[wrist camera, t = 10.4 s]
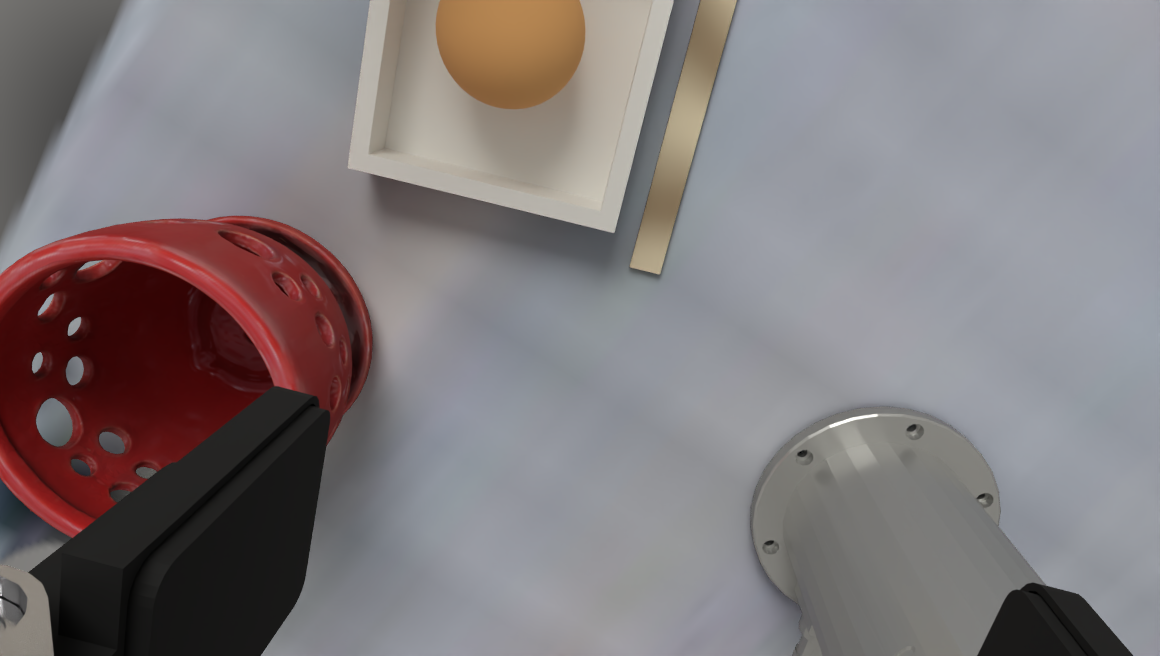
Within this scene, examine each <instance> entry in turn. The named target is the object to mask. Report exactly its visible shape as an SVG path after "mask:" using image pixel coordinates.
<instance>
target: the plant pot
mask: <svg viewBox="0 0 1160 656" xmlns="http://www.w3.org/2000/svg"><path fill="white" fill-rule="evenodd" d="M98 260H103V261H101V262H99V263H97V264H95V265H93V266H91V267H89V268H86V269H83V270H79V269H80V268H81V267H82V266H83V265H84V264H85V263H87V262H89V261H98ZM78 270H79V271H78ZM52 294H54V296H53V299H52V302H51V303H50V305H49V307H48V308H47V309H46V310H45V312H44V313H43V314H41V315H39V316H38V311H39V310H40V308H41V307H42V305H43V304H44V302H45V301H46V299H47V298H48V297H49V296H50V295H52ZM78 317H81V324H80V326H79V328H78V330H77V331H76V332H75V333H74V334H73V335H71V336H68V327H69V324H70V322H72V321H73V320H74V319H76V318H78ZM39 352H41V353H42V355H43V362H42V365H41V367H40V369H39V370H38V371H37V372H36V373H33V371H32V361H33V359H34V357H35V355H36V354H37V353H39ZM76 356H78V357H79V358H80V359H81V360H82V363H83V367H84V372H83V376H82V379H81V380H80V382H78V383H77V384H76V385H70V384H69V382H68V381H67V378H66V367H67V364H68V361H69V360H70V359H71V358H72V357H76ZM371 358H372V329H371V322H370V318H369V314H368V310H367V307H366V305H365V302H364V300H363V297H362V295H361V293H360V291H359V289H358V287H357V285H356V283H355V282H354V280H353V278H352V277H351V275H350V274H349V273H348V271H347V270H346V268H345V267H344V266H343V265H342V264H341V263H340V261H339V260H338V259H337V258H336V257H335V256H334V255H333V254H332V253H331V252H330V251H328V250H327V249H326V248H325V247H324V246H322V245H321V244H320V243H318V242H317V241H316V240H314V239H313V238H311V237H310V236H308V235H306V234H304V233H303V232H301V231H299V230H297V229H295V228H293V227H291V226H288V225H286V224H283V223H280V222H277V221H273V220H269V219H265V218H259V217H251V216H227V217H218V218H213V219H209V220H197V219H160V220H150V221H140V222H133V223H126V224H120V225H114V226H110V227H105V228H101V229H97V230H93V231H88V232H84V233H81V234H78V235H75V236H71V237H68V238H65V239H61V240H58V241H56V242H53V243H50V244H48V245H45V246H43V247H41V248H39V249H36V250H34V251H32V252H31V253H29V254H27V255H26V256H24V257H22V258H21V259H19V260H18V261H16V262H15V263H14V264H13V265H11V266H10V267H8V268H7V269H6V270H5V271H4V272H3V273H2V274H1V275H0V478H1V480H2V481H3V482H4V483H5V485H6V486H7V487H8V488H9V489H10V490H11V492H12V493H13V494H14V495H15V496H16V497H17V498H18V499H19V500H20V501H22V502H23V503H24V504H25V505H26V506H27V507H28V508H29V509H30V510H31V511H33V512H34V513H35V514H37V515H38V516H39V517H41V518H42V519H43V520H44V521H46V522H47V523H48V524H50V525H51V526H53V527H54V528H56V529H57V530H59V531H61V532H63V533H64V534H66V535H68V536H70V537H72V538H73V537H74V536H76V535H77V534H78V533H79V532H81V531H82V530H83V529H85V528H86V527H87V526H88V525H90V524H91V523H92V522H94V521H95V520H96V519H97V518H99V517H100V516H101V515H103V514H104V513H105V512H106V511H108V510H109V509H110V508H112V507H113V506H114V505H115V504H117V503H118V502H115V501H114V500H113V499H112V497H111V495H110V492H112V491H114V490H126V491H130V492H132V491H133V490H135V489H136V488H137V487H139V486H140V485H141V484H142V483H144V482H145V481H146V480H148V479H145V478H142V477H140V476H139V475H137V474H136V469H138V468H140V467H147V468H152V469H154V470H156V471H157V472H158V471H159V470H160V469H162V468H163V467H165V466H167V465H168V464H170V463H172V462H178V461H179V460H180V459H181V458H183V457H184V456H185V455H187V454H188V453H189V452H190V451H192V450H193V449H194V448H195V447H197V446H198V445H199V444H200V443H202V442H203V441H204V440H206V439H207V438H208V437H209V436H211V435H212V434H213V433H214V432H216V431H217V430H218V429H219V428H221V427H222V426H223V425H225V424H226V423H227V422H228V421H230V420H231V419H232V418H233V417H235V416H236V415H237V414H238V413H240V412H241V411H242V410H244V409H245V408H246V407H247V406H249V405H250V404H251V403H252V402H254V401H255V400H256V399H257V398H259V397H260V396H261V395H263V394H264V393H265V392H266V391H268V390H269V389H270V388H272V387H274V386H279V387H283V388H287V389H290V390H294V391H298V392H302V393H306V394H310V395H313V396H317V397H318V399H319V405H320V407H319V408H321V409H325V410H329V412H330V426H329V432H328V438H327V444H328V443H329V441H330V440H331V438H332V437H333V435H334V433H335V431H336V429H337V428H338V426H339V423H340V421H341V419H342V416H343V414H344V413H345V412H346V411H347V410H348V409H349V408H350V407H351V406H352V404H353V403H354V402H355V400H356V399H357V397H358V395H359V394H360V392H361V390H362V388H363V386H364V383H365V381H366V378H367V375H368V372H369V368H370V364H371ZM49 398H55V399H57V400H58V401H60V402H61V403H62V404H63V405H64V406H65V407H66V409H67V410H68V412H69V414H70V416H71V419H72V424H73V432H72V436H71V438H70V440H69V441H68V442H67V443H66V444H65V445H63V446H60V447H57V446H53V445H51V444H49V443H48V442H47V441H45V440H44V439H43V438H42V436H41V435H40V433H39V431H38V429H37V425H36V417H37V413H38V411H39V409H40V407H41V405H42V404H43V403H44V402H45V401H46V400H47V399H49ZM102 432H112V433H114V434H116V435H118V436H119V437H120V438H121V439H122V441H123V442H124V445H125V451H124V453H121V454H113V453H110V452H107V451H106V450H104V449H103V448H102V446H101V445H100V443H99V435H100V434H101V433H102ZM327 444H326V446H327ZM72 459H79V460H82V461H84V462H85V463H86V464H88V466H89V468H90V470H91V474H90V476H83V475H80V474H78V473H77V472H75V471H74V469H73V468H72V466H71V460H72Z"/></svg>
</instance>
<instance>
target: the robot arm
mask: <svg viewBox="0 0 1160 656" xmlns="http://www.w3.org/2000/svg"><path fill="white" fill-rule="evenodd" d="M319 407H320V405H319V399H318V397H317V396H313V395H310V394H306V393H302V392H298V391H294V390H290V389H287V388H283V387H279V386H274V387H272V388H270V389H269V390H268V391H266V392H265V393H264V394H263V395H261V396H260V397H259V398H257V399H256V400H255V401H254V402H252V403H251V404H250V405H249V406H247V407H246V408H245V409H244V410H242V411H241V412H240V413H238V414H237V415H236V416H235V417H233V418H232V419H231V420H230V421H228V422H227V423H226V424H225V425H223V426H222V427H221V428H219V429H218V430H217V431H216V432H214V433H213V434H212V435H211V436H209V437H208V438H207V439H206V440H204V441H203V442H202V443H200V444H199V445H198V446H197V447H195V448H194V449H193V450H192V451H190V452H189V453H188V454H187V455H185V456H184V457H183V458H181V459H180V460H179V461H178V462H172V463H170V464H168V465H167V466H165V467H163V468H162V469H160V470H159V471H158V472H157V473H155V474H154V475H153V476H151V477H150V478H149V479H148V480H146V481H145V482H144V483H142V484H141V485H140V486H139V487H137V488H136V489H135V490H133V491H132V492H131V493H130V494H128V495H127V496H126V497H124V498H123V499H122V500H121V501H119V502H118V503H117V504H115V505H114V506H113V507H112V508H110V509H109V510H108V511H106V512H105V513H104V514H103V515H101V516H100V517H99V518H97V519H96V520H95V521H94V522H92V523H91V524H90V525H88V526H87V527H86V528H85V529H83V530H82V531H81V532H79V533H78V534H77V535H76V536H74V537H73V538H72V539H70V540H69V541H68V542H67V543H65V544H64V545H63V546H61V547H60V548H59V549H58V550H56V551H55V552H54V553H52V554H51V555H50V556H49V557H47V558H46V559H45V560H43V561H42V562H41V563H40V564H38V565H37V566H36V567H35V568H33V569H32V570H31V571H29V572H25V571H22V570H19V569H16V568H14V567H11V566H8V565H0V656H261V654H262V653H263V651H264V650H265V648H266V647H267V645H268V644H269V643H270V641H271V640H272V638H273V637H274V635H275V634H276V632H277V631H278V629H279V628H280V626H281V625H282V624H283V622H284V621H285V619H286V618H287V616H288V615H289V613H290V612H291V610H292V609H293V607H294V606H295V604H296V602H297V600H298V598H299V596H300V593H301V591H302V588H303V585H304V581H305V576H306V570H307V564H308V558H309V551H310V545H311V539H312V532H313V526H314V520H315V514H316V507H317V501H318V495H319V488H320V482H321V476H322V470H323V463H324V457H325V451H326V444H327V438H328V432H329V426H330V412H329V410H325V409H321V408H319ZM911 425H912V426H911ZM909 426H911V427H910V428H908V427H909ZM802 450H805V451H804V452H803V453H798V452H800V451H802ZM1000 513H1001V509H1000V498H999V490H998V487H997V484H996V481H995V478H994V475H993V472H992V470H991V469H990V467H989V466H988V464H987V462H986V461H985V459H984V458H983V456H982V454H981V453H980V452H979V451H978V450H977V449H976V448H975V447H974V446H973V444H972V443H971V442H970V441H969V440H968V439H967V438H966V437H964V436H963V435H962V434H961V433H959V432H958V431H957V430H956V429H955V428H953V427H952V426H951V425H949V424H947V423H945V422H943V421H941V420H939V419H937V418H935V417H933V416H931V415H928V414H924V413H921V412H918V411H914V410H911V409H905V408H895V407H870V408H859V409H855V410H851V411H847V412H842V413H838V414H835V415H833V416H831V417H828V418H826V419H823V420H821V421H819V422H816V423H814V424H813V425H811V426H810V427H808V428H806V429H805V430H803V431H802V432H800V433H799V434H797V435H795V436H794V437H793V438H792V439H791V440H790V441H789V442H788V443H787V444H785V445H784V446H783V447H782V448H781V449H780V450H779V451H778V452H777V453H776V455H775V456H774V457H773V459H772V460H771V461H770V463H769V464H768V465H767V467H766V468H765V470H764V472H763V474H762V476H761V478H760V480H759V482H758V484H757V486H756V489H755V493H754V497H753V501H752V505H751V531H752V536H753V541H754V545H755V548H756V551H757V554H758V557H759V560H760V563H761V565H762V567H763V568H764V570H765V572H766V573H767V575H768V577H769V578H770V580H771V581H772V582H773V583H774V584H775V585H776V586H777V588H778V589H779V590H780V591H781V592H782V593H783V594H784V595H786V596H787V597H788V598H790V599H791V600H792V601H794V602H795V603H797V604H798V605H799V606H800V608H801V611H802V616H801V618H800V621H799V630H800V631H801V633H802V636H801V639H800V641H799V644H797V645H796V647H795V649H794V652H793V654H792V656H1133V655H1132V654H1131V652H1130V651H1129V650H1128V649H1127V648H1126V647H1125V646H1124V644H1123V643H1122V642H1121V641H1120V640H1119V639H1118V637H1117V636H1116V635H1115V634H1114V633H1113V632H1112V631H1111V629H1110V628H1109V627H1108V626H1107V625H1106V624H1105V622H1104V621H1103V620H1102V619H1101V618H1100V617H1099V616H1098V614H1097V613H1096V612H1095V611H1094V610H1093V609H1092V607H1091V606H1090V605H1089V604H1088V603H1087V602H1086V601H1085V599H1084V598H1082V597H1081V596H1080V595H1079V594H1076V593H1072V592H1068V591H1064V590H1060V589H1056V588H1053V587H1049V586H1046V584H1045V583H1044V582H1043V581H1042V580H1041V578H1040V577H1039V576H1038V575H1037V573H1036V572H1035V571H1034V570H1033V568H1032V567H1031V566H1030V565H1029V563H1028V562H1027V561H1026V560H1025V559H1024V557H1023V556H1022V555H1021V554H1020V552H1019V551H1018V550H1017V549H1016V547H1015V546H1014V545H1013V544H1012V542H1011V541H1010V540H1009V539H1008V538H1007V536H1006V535H1005V534H1004V533H1003V531H1002V530H1001V529H1000V528H999V520H1000Z"/></svg>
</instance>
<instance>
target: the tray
mask: <svg viewBox="0 0 1160 656" xmlns="http://www.w3.org/2000/svg"><path fill="white" fill-rule="evenodd" d="M439 2H440V0H370V5H369V13H368V20H367V28H366V35H365V42H364V50H363V57H362V65H361V72H360V79H359V87H358V94H357V102H356V109H355V117H354V124H353V131H352V139H351V146H350V154H349V161H348V168H350V169H354V170H358V171H362V172H366V173H370V174H374V175H378V176H382V177H387V178H391V179H395V180H399V181H403V182H407V183H411V184H415V185H419V186H423V187H427V188H432V189H436V190H440V191H444V192H448V193H452V194H456V195H460V196H464V197H468V198H472V199H477V200H481V201H485V202H489V203H493V204H497V205H501V206H505V207H509V208H513V209H517V210H521V211H526V212H530V213H534V214H538V215H542V216H546V217H550V218H554V219H558V220H562V221H566V222H571V223H575V224H579V225H583V226H587V227H591V228H595V229H599V230H603V231H607V232H611V233H614V232H615V228H616V225H617V221H618V217H619V213H620V209H621V205H622V201H623V197H624V193H625V189H626V185H627V182H628V178H629V174H630V170H631V166H632V162H633V158H634V154H635V150H636V146H637V142H638V139H639V135H640V131H641V127H642V123H643V119H644V115H645V111H646V107H647V103H648V99H649V96H650V92H651V88H652V84H653V80H654V76H655V72H656V68H657V64H658V60H659V56H660V53H661V49H662V45H663V41H664V37H665V33H666V29H667V25H668V21H669V17H670V13H671V10H672V6H673V2H674V0H580V3H581V6H582V9H583V14H584V19H585V44H584V50H583V54H582V57H581V61H580V63H579V65H578V67H577V70H576V71H575V73H574V75H573V76H572V78H571V79H570V81H569V82H568V83H567V84H566V86H565V87H564V88H563V89H562V90H561V91H560V92H559V93H557V94H556V95H555V96H553V97H552V98H550V99H549V100H547V101H545V102H543V103H541V104H538V105H536V106H533V107H529V108H524V109H503V108H497V107H493V106H490V105H487V104H485V103H483V102H480V101H478V100H477V99H475V98H473V97H472V96H470V95H469V94H468V93H467V92H465V91H464V90H463V89H462V88H461V87H460V86H459V85H458V84H457V83H456V82H455V80H454V79H453V78H452V76H451V75H450V73H449V72H448V70H447V68H446V66H445V65H444V63H443V60H442V58H441V55H440V52H439V48H438V45H437V38H436V15H437V10H438V5H439Z"/></svg>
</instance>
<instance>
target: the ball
mask: <svg viewBox="0 0 1160 656" xmlns="http://www.w3.org/2000/svg"><path fill="white" fill-rule="evenodd" d="M436 38H437V45H438V48H439V52H440V55H441V58H442V60H443V63H444V65H445V66H446V68H447V70H448V72H449V73H450V75H451V76H452V78H453V79H454V80H455V82H456V83H457V84H458V85H459V86H460V87H461V88H462V89H463V90H464V91H465V92H467V93H468V94H469V95H470V96H472V97H473V98H475V99H477V100H478V101H480V102H483V103H485V104H487V105H490V106H493V107H497V108H503V109H524V108H529V107H533V106H536V105H538V104H541V103H543V102H545V101H547V100H549V99H550V98H552V97H553V96H555V95H556V94H557V93H559V92H560V91H561V90H562V89H563V88H564V87H565V86H566V84H567V83H568V82H569V81H570V79H571V78H572V76H573V75H574V73H575V71H576V70H577V67H578V65H579V63H580V61H581V57H582V54H583V50H584V44H585V19H584V14H583V9H582V6H581V3H580V0H440V2H439V5H438V10H437V15H436Z"/></svg>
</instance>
